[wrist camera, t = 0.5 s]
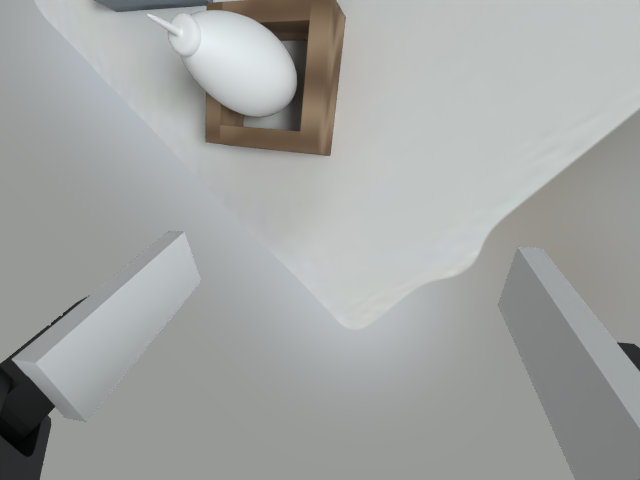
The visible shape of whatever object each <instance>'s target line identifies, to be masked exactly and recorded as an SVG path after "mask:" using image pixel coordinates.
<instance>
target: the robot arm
mask: <svg viewBox="0 0 640 480" xmlns="http://www.w3.org/2000/svg"><path fill="white" fill-rule="evenodd" d="M200 282H201V280H200V276H199V273H198V270H197V267H196V264H195V261H194V259H193V256H192V253H191V250H190V247H189V244H188V241H187V238H186V235H185V232H179V231H178V232H177V231H168V232H167V233H166V234H165V235H163V236H162V237H161V238H160V239H158V241H156V242H155V243H154V244H152V245H151V246H150V247H149V248H148V249H146V250H145V251H144V252H143V253H141V254H140V255H139V256H138V257H136V258H135V259H134V260H133V261H131V262H130V263H129V264H128V265H127V266H125V267H124V268H123V269H122V270H120V271H119V272H118V273H117V274H116V275H114V276H113V277H112V278H111V279H110V280H108V281H107V282H106V283H104V284H103V285H102V286H101V287H100V288H98V289H97V290H96V291H95V292H94V293H92V294H91V295H89V296H88V297H86V298H84V299H82V300H80V301H79V302H77V303H75V304H74V305H73V306H72V307H71V308H69V309H68V310H67V311H66V312H64V313H63V315H62V316H59V317H58V318H57V319H56V320H54V321H53V322H52V323H51V325H50V326H47V327H46V328H44V329H43V330H42V331H41V332H40V333H38V334H37V335H36V336H34V337H33V338H32V339H31V340H29V341H28V342H27V343H26V344H24V345H23V346H22V347H21V348H20V349H18V350H17V351H16V352H15V353H13V354H12V355H11V356H10V357H8V358H7V359H6V360H5V361H3V362H2V363H0V480H40V475H41V469H42V466H43V461H44V456H45V451H46V447H47V442H48V437H49V433H50V428H51V418H50V417H49V416H48V414H49V413H50V412H51V411H52V410H53V408H54V407H56V408H57V409H58V410H59V411H60V413H62V415H63V416H64V417H65V418H69V419H73V420H79V421H84V422H87V421H88V419H89V418H90V417H91V416H92V414H93V413H94V412H95V411H96V410H97V408H98V407H99V406H100V405H101V403H102V402H103V401H104V400H105V399H106V397H107V396H108V395H109V394H110V392H111V391H112V390H113V389H114V387H115V386H116V385H117V384H118V383H119V381H120V380H121V379H122V378H123V377H124V375H125V374H126V373H127V372H128V370H129V369H130V368H131V367H132V365H133V364H134V363H135V362H136V360H137V359H138V358H139V357H140V356H141V354H142V353H143V352H144V351H145V350H146V348H147V347H148V346H149V345H150V343H151V342H152V341H153V340H154V338H155V337H156V336H157V335H158V334H159V332H160V331H161V330H162V329H163V327H164V326H165V325H166V324H167V322H168V321H169V320H170V319H171V318H172V316H173V315H174V314H175V313H176V311H177V310H178V309H179V308H180V306H181V305H182V304H183V303H184V302H185V300H186V299H187V298H188V297H189V296H190V294H191V293H192V292H193V291H194V289H195V288H196V287H197V285H198V284H199V283H200ZM498 306H499V308H500V311H501V313H502V315H503V317H504V320H505V322H506V324H507V327H508V329H509V331H510V333H511V336H512V338H513V340H514V342H515V345H516V347H517V349H518V351H519V354H520V356H521V358H522V361H523V363H524V365H525V367H526V370H527V372H528V374H529V377H530V379H531V381H532V383H533V386H534V388H535V390H536V392H537V395H538V397H539V399H540V401H541V404H542V406H543V408H544V411H545V413H546V415H547V417H548V419H549V422H550V424H551V426H552V428H553V431H554V433H555V435H556V438H557V440H558V442H559V445H560V447H561V449H562V451H563V454H564V456H565V458H566V460H567V463H568V465H569V467H570V470H571V472H572V474H573V476H574V479H575V480H640V348H639V347H637V346H636V345H635V344H629V343H617V342H616V341H615V340H614V339H613V338H612V336H611V335H610V334H609V332H608V331H607V330H606V329H605V327H604V326H603V325H602V324H601V322H600V321H599V320H598V319H597V317H596V316H595V315H594V313H593V312H592V311H591V310H590V308H589V307H588V306H587V305H586V303H585V302H584V301H583V300H582V299H581V297H580V296H579V295H578V293H577V292H576V291H575V290H574V288H573V287H572V286H571V285H570V283H569V282H568V281H567V280H566V278H565V277H564V276H563V274H562V273H561V272H560V271H559V270H558V268H557V267H556V266H555V264H554V263H553V262H552V261H551V259H550V258H549V257H548V256H547V254H546V253H545V252H544V251H543V249H542V248H525V247H517V250H516V253H515V256H514V259H513V262H512V265H511V268H510V270H509V273H508V277H507V279H506V283H505V285H504V289H503V291H502V295H501V297H500V301H499V303H498Z"/></svg>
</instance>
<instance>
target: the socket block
mask: <svg viewBox="0 0 640 480" xmlns="http://www.w3.org/2000/svg"><path fill="white" fill-rule="evenodd" d="M208 10H222V11H229V12H233V13H237V14H240V15H243V16H246V17H249V18H251V19H253V20H255V21H256V22H258V23H260V24H261V25H263V26H264V27H266V28H267V29H268V30H270V31H271V32H272V33H273V34H274V35H275V36H276V37H277V38H278V39H279V40H280V41H284V40H308V47H307V59H306V71H305V83H304V94H303V106H302V118H301V130H300V131H288V130H275V129H263V128H250V127H243V122H244V114H241V113H238V112H236V111H233V110H231V109H229V108H227V107H226V106H224V105H223V104H221V103H220V102H218V101H217V100H216V99H214V98H213V97H212V96H211V95H210V94H209V93H207V92H206V142H209V143H216V144H224V145H231V146H241V147H251V148H260V149H270V150H279V151H289V152H299V153H308V154H318V155H328V156H330V154H331V145H332V136H333V127H334V118H335V109H336V100H337V91H338V82H339V73H340V64H341V55H342V46H343V37H344V28H345V19H346V17H345V15H344V13H343V12H342V10H341V8H340V6H339V5H338V3H337V1H336V0H242V1H229V2H216V3H207V11H208Z"/></svg>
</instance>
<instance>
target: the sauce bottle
mask: <svg viewBox="0 0 640 480" xmlns="http://www.w3.org/2000/svg"><path fill="white" fill-rule="evenodd" d="M147 16H148V17H149V18H150V19H151V20H153V21H154V22H156V23H157V24H159V25H160V26H162V27H163V28H165V29H167V30H168V38H169V42H170V44H171V46H172V48H173V49H174V50H175V51H176V52H177V53H178V54H180V56H181V58H182V60H183V62H184V64H185V66H186V67H187V69H188V70H189V72H190V73H191V75H192V76H193V77H194V78H195V80H196V81H197V82H198V83H199V84H200V85H201V86H202V87H203V89H204V90H205V91H206V92H207V93H209V94H210V95H211V96H212V97H213V98H214V99H216V100H217V101H218V102H220V103H221V104H223V105H224V106H226V107H227V108H229V109H231V110H233V111H236V112H238V113H241V114H244V115H247V116H254V117H264V116H269V115H273V114H275V113H277V112H279V111H281V110H282V109H284V108H285V107H286V106H287V105H288V104H289V103H290V102H291V100H292V99H293V97H294V95H295V92H296V89H297V74H296V70H295V66H294V63H293V61H292V59H291V56H290V54H289V53H288V51H287V50H286V48H285V46H284V45H283V44H282V42H281V41H280V40H279V39H278V38H277V37H276V36H275V35H274V34H273V33H272V32H271V31H270V30H268V29H267V28H266V27H264V26H263V25H261V24H260V23H258V22H256V21H255V20H253V19H251V18H249V17H246V16H243V15H240V14H237V13H233V12H229V11H222V10H208V11H201V12H197V13H194V14H192V15H189V14H186V13H181V14H178V15H176V16H175V17H174V18H173V19H172V21H171V22H170V23H169V22H167V21H165V20H163V19H161V18H159V17H157V16H154V15H151V14H147Z"/></svg>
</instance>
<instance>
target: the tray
mask: <svg viewBox="0 0 640 480" xmlns="http://www.w3.org/2000/svg"><path fill="white" fill-rule="evenodd" d="M95 1H97V2H99V3H101V4H103V5H105V6H107V7H109V8H111V9H113V10H115V11H116V12H122V11H135V10H149V9H163V8H176V7H190V6H204V5H207V3H213V0H95Z"/></svg>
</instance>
